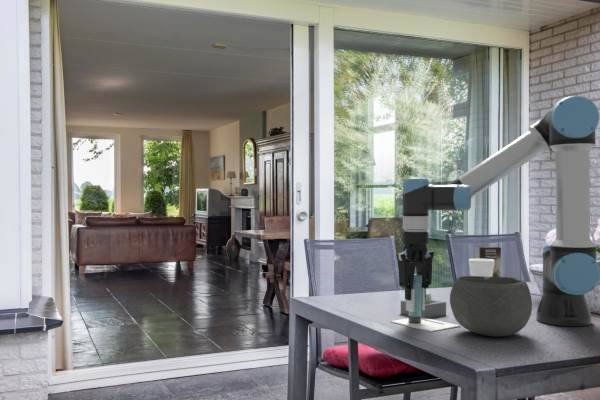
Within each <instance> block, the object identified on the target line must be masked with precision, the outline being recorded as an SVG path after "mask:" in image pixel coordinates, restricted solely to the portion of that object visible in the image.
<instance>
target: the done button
mask: <svg viewBox="0 0 600 400" xmlns="http://www.w3.org/2000/svg"><path fill="white" fill-rule="evenodd" d="M431 300H432V293H431V292H426V298H425V304H426V303H431Z"/></svg>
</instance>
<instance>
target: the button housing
mask: <svg viewBox="0 0 600 400" xmlns="http://www.w3.org/2000/svg"><path fill="white" fill-rule="evenodd" d="M400 314H402V315H407V316H409V311H406V300H404V299H403V300H400ZM446 315H447V302H446V301H443V300H442V301H440V300H435V299H431V303H426V304H425V310H421V317H424V318H428V319H431V318H435V317H441V316H446Z"/></svg>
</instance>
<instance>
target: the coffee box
mask: <svg viewBox="0 0 600 400" xmlns="http://www.w3.org/2000/svg"><path fill="white" fill-rule="evenodd" d="M474 259H493V260H494V269H493V276H492V277H502V275H501V274H502V273H501V272H502V271H501V270H502V269H501V268H502V266H501V265H502V263H501V262H502V247H500V246H496V245H495V246H493V245H491V246H490V245H489V246H488V245H486V246H484V245H482V246H480V245H477V246H475V257H474Z"/></svg>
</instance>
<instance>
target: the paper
mask: <svg viewBox="0 0 600 400" xmlns="http://www.w3.org/2000/svg"><path fill="white" fill-rule="evenodd" d="M390 323H393V324H397V325H401V326H406V327H410V328H412V329H418V330H422V331H425V332H430V333H433V332H437V331H438V332H439V331H444V330H449V329H454V328H460V327H461V325H460V324H455V323H449V322H446V321H440V320H436V319H432V318H424V317H421V323H418V324H414V323H409V317H407V318H401V319H396V320H390Z"/></svg>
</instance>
